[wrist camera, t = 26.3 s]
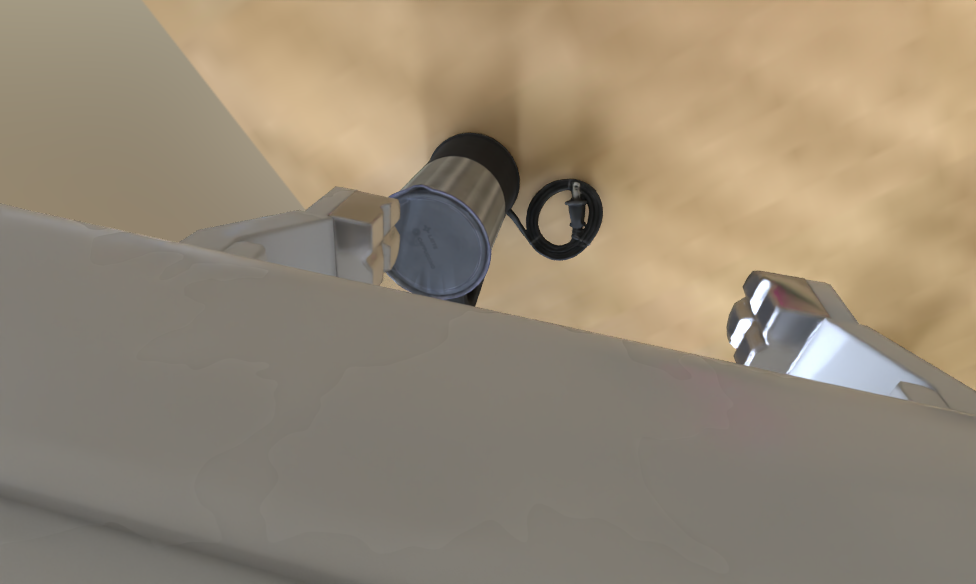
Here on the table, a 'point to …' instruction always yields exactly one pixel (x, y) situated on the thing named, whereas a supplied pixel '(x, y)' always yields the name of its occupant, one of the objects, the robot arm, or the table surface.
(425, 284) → the milk frother
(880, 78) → the table surface
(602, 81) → the table surface
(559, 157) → the table surface
